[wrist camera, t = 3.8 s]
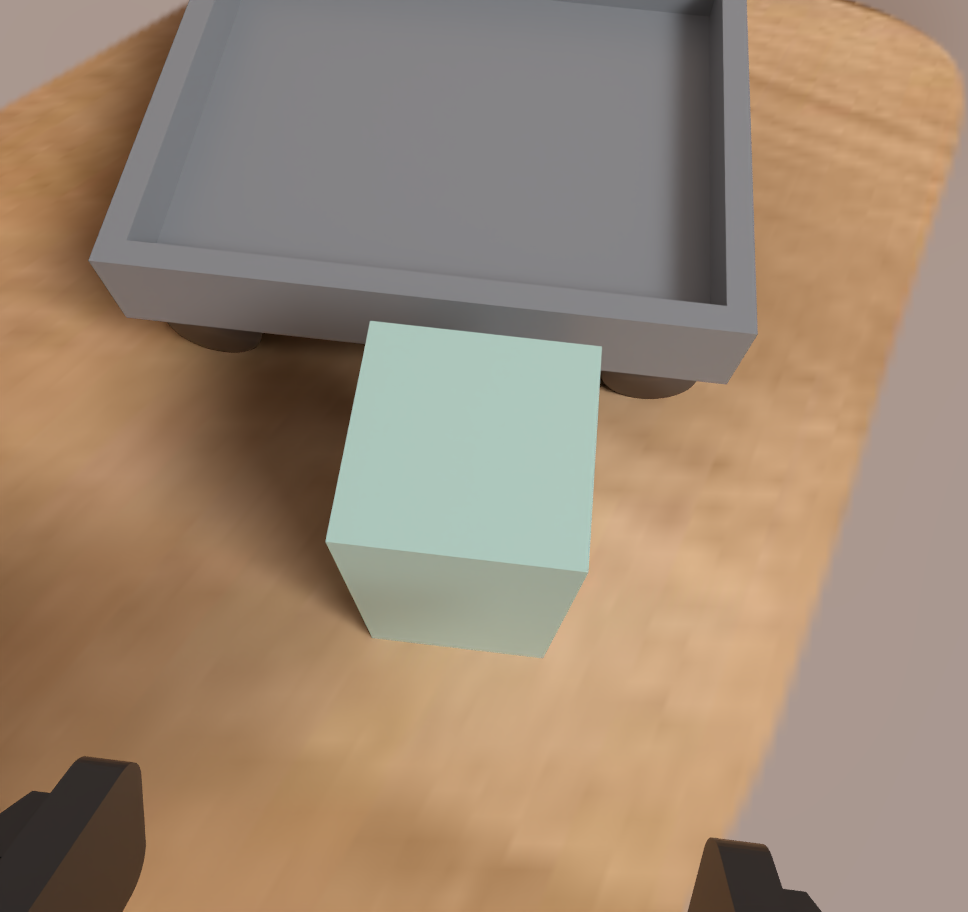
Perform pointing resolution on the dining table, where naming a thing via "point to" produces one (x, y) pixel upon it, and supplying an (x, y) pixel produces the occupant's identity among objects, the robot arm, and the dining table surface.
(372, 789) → the dining table surface
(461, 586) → the sage part block
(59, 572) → the dining table surface
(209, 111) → the grey shallow tray
